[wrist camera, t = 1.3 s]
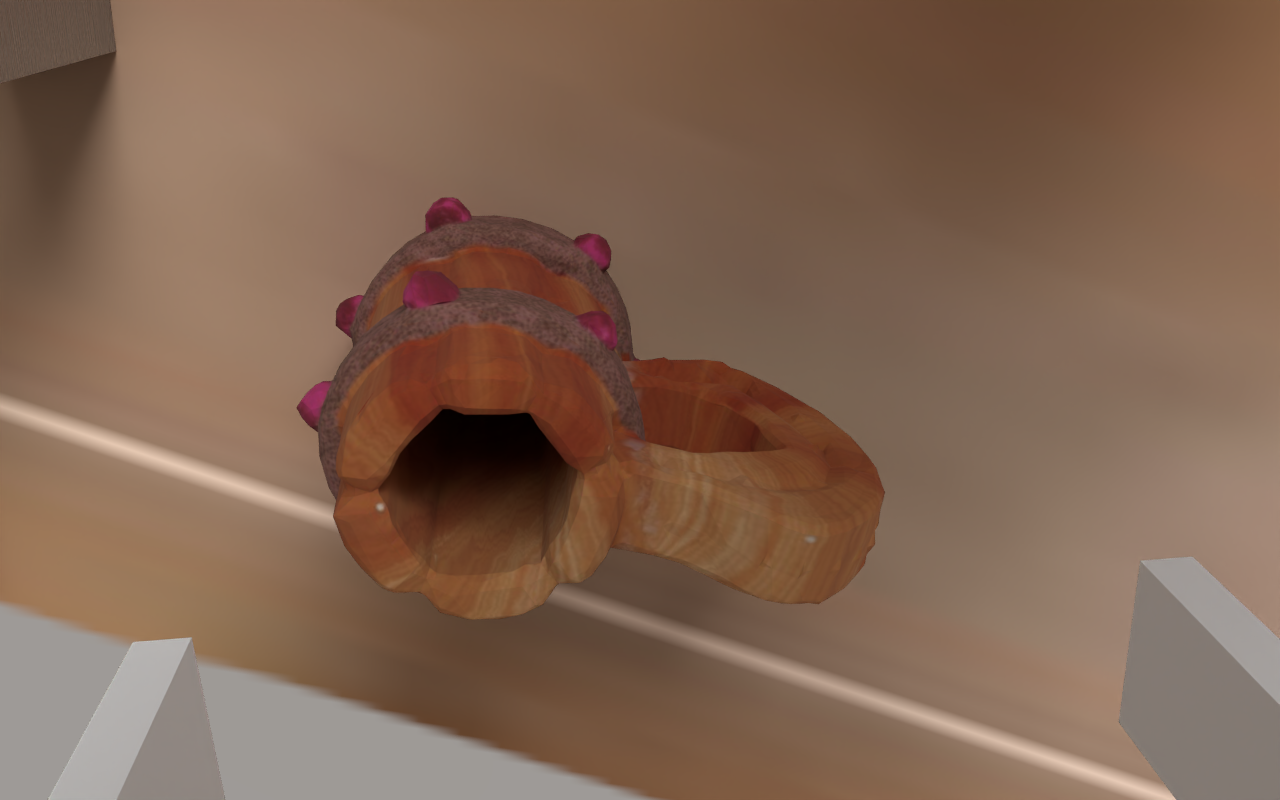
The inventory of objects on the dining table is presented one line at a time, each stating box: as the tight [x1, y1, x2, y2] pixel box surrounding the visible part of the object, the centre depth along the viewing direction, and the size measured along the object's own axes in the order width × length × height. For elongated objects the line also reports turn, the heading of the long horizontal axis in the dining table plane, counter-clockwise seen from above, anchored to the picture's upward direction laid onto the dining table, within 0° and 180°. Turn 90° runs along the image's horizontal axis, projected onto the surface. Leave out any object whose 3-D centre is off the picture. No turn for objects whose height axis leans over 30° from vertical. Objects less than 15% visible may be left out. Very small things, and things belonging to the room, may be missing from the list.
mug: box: [297, 198, 885, 620], centre depth 33 cm, size 15×8×15 cm, turn 76°
